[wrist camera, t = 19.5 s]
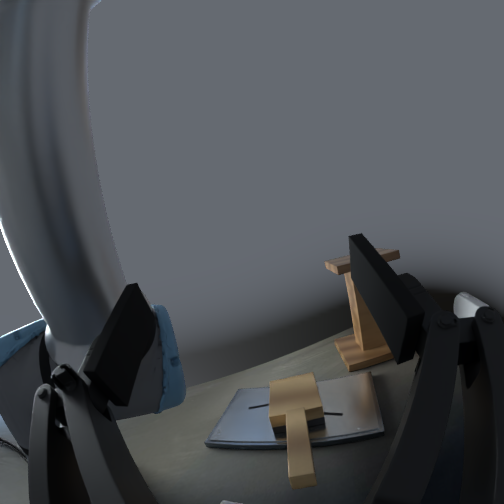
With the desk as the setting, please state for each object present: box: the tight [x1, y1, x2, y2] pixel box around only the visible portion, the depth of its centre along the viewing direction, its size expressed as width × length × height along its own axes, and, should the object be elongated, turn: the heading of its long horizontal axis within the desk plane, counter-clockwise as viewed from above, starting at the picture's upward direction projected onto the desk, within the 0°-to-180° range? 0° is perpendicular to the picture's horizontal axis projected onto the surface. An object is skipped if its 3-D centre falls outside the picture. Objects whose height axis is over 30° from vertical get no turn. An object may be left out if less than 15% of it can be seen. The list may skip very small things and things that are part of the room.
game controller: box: [454, 292, 488, 318], centre depth 34 cm, size 20×2×8 cm, turn 161°
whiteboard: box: [205, 371, 384, 450], centre depth 35 cm, size 24×16×1 cm, turn 74°
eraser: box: [269, 372, 325, 490], centre depth 29 cm, size 22×7×4 cm, turn 175°
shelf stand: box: [325, 248, 400, 372], centre depth 50 cm, size 14×14×20 cm
